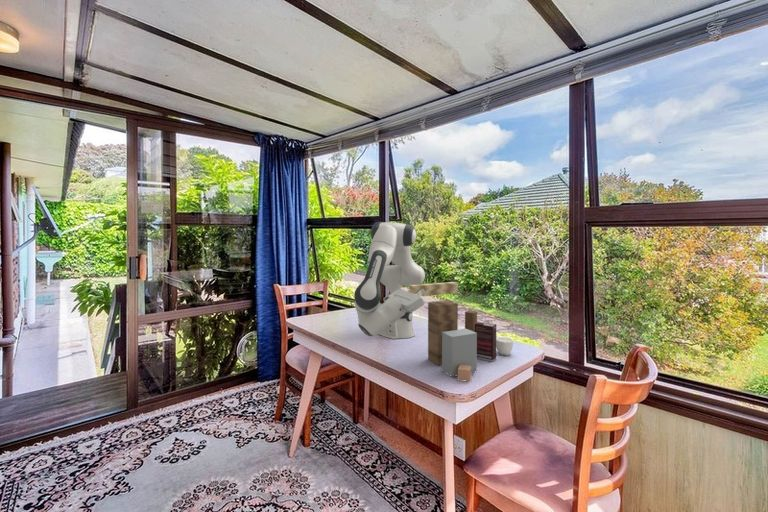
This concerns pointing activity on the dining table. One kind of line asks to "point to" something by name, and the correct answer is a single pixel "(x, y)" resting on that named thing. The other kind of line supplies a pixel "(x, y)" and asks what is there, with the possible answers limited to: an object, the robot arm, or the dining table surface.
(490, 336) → the supplement box
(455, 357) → the grey step block
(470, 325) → the wooden block
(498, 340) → the cup
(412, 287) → the oak bar
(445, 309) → the walnut stand
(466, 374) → the clay cube
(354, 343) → the dining table surface
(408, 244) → the robot arm
